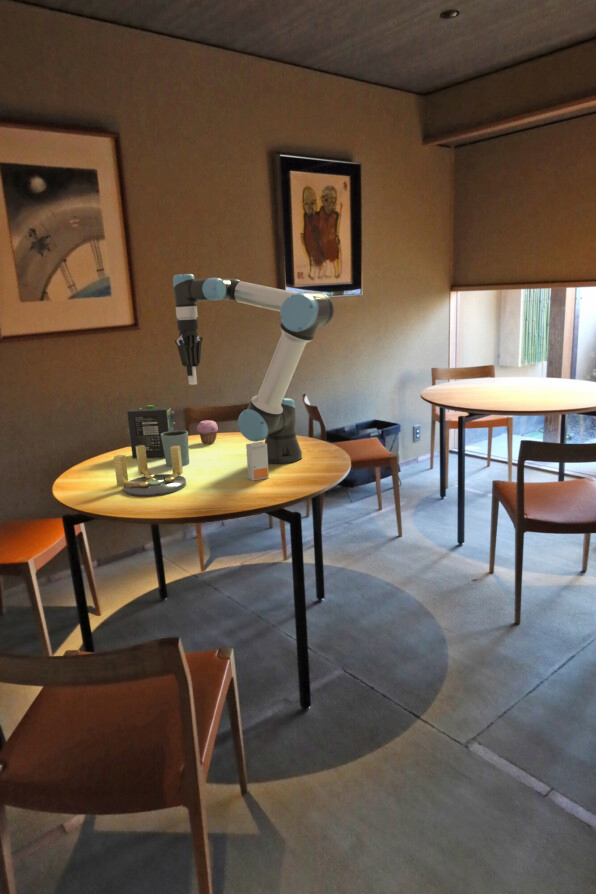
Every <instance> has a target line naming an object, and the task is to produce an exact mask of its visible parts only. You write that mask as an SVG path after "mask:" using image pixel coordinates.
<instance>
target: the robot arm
mask: <svg viewBox="0 0 596 894" xmlns="http://www.w3.org/2000/svg"><path fill="white" fill-rule="evenodd" d="M172 280H173V285H172V286H173V287H172V288H173V294H174V303H175V304H174V305H175V315H176V319H177V321H176V326H177V331H179V338H177V339H175V340H174V343H175V344H176V347H177V351H178V353H179V358H180V360H181V366H183V367H185V368H186V373H187V374H186V375H187V377H188V378H187V379H188V385H193V386H195V385H198V379H197V378H198V377H197V375H198V374H197V373H198V370H197V367H199V365H200V363H201V353H202V343H203V339H204V338H203V337H202V336H199V334H198V332H197V330H198V329H199V320H198V319H197V318H198V317H199V316H198V306H197V302H209V301H210V302H216V301H230V302H235V303H241V304H245V305H249V306H252V307H253V306H254V307H257V308H262V309H263V308H264V309H265V310H271V311H276V312H279V316H280V321H281V323H280V325H279V328H280V331H281V336H280V338H279V339H278V340H279V341H278V343H277V346H276V348H275V350H274V353H273V355H272V357H271V361H270V364H269V365H268V368H267V371H266V373H265V376H264V378H263V380H262V383H261V386H260V388H259V389H258V390H259V391H258V394H256V395H254V396H252V398H251V399H250V402H249V403H248V406H247V409H244V410H243V411H241V413H240V414H239V415H238V418H237V427H238V429H239V432H240V434H241V435H242V436H243V437H244V438H245V439H246V440H247V441H249V442H252V443H256V442H263V441H264V443H266V444H267V453H268V464H289V463H290V464H291V463H295V462H298V461H300V460H301V459H303V453H302V452H303V451H302V449H301V446H300V443H299V440H298V437H297V419H296V405H295V400H294V399H292V398H290V397H289V398H288V397H285V395H286V393H287V390H288V388H289V385H290V383H291V381H292V379H293V376H294V373H295V372H296V369H297V367H298V364H299V362H300V359H301V357H302V354H303V353H304V350H305V348H306V345H307V344H308V343H310V342H313V340H314V338H315V335H316V332H317V331H318V329H321V328H324V327H326V326H327V325H329V324H330V323H331V322H332V320H333V319H334V316H335V304H334V302H333V300H332V298H331V297H330V296H328V295H327V294H326V293H323V292H318V291H317V292H310V291H306V290H305V291H302V292H301V291H300V292H295V291H291V290H285V289H280V288H275V287H270V286H265V285H261V284H258V283H257V284H256V283H252V282H247V281H242V280H240V279H237V278H232V277H231V278H219V277H209V278H199V279H195V275H194V274H192V273H184V274H182V273H181V274H174V276H173V279H172ZM299 459H300V460H299Z"/></svg>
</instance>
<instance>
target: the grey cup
mask: <svg viewBox="0 0 596 894" xmlns="http://www.w3.org/2000/svg"><path fill="white" fill-rule="evenodd" d="M161 439H162V444H163V449H164V455H165V457H164V460H165V464H166V465H165V466H167V467H168V468H169V467H170V468H172V460H171V451H170V448H171V447H172V446H180V449H181V460H182V467H185V466H187V465H189V464H190V455H189V432H188V430H182V429H179V430H178V429H177V430H173V431H168V432H164V433H162V434H161Z"/></svg>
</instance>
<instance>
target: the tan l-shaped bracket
mask: <svg viewBox="0 0 596 894" xmlns="http://www.w3.org/2000/svg"><path fill="white" fill-rule="evenodd" d="M170 451H171V460H172V467H171V469H172V470H171V471H172V473H170V474H171V475H170V476H169V477H166V478H165V480H166V482H173V481H174V479H175V478H176V477H177V476H178V475H179V476H182V475H183V466H182V460H181V449H180V446H172V447H171V448H170Z"/></svg>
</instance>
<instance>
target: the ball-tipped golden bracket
mask: <svg viewBox="0 0 596 894" xmlns="http://www.w3.org/2000/svg"><path fill="white" fill-rule="evenodd" d="M126 459H127V458H126V454H125V455H124V454H118V455H115V456H114V457H113V462H114V470H115V471H114V472H115V478H116V479H115V480H116V485H117V486H118V487H119V486H120V487H124V486H140V487H148V482H147V481H143V482H133V481H131V480H129V475H128V466H127V460H126Z"/></svg>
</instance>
